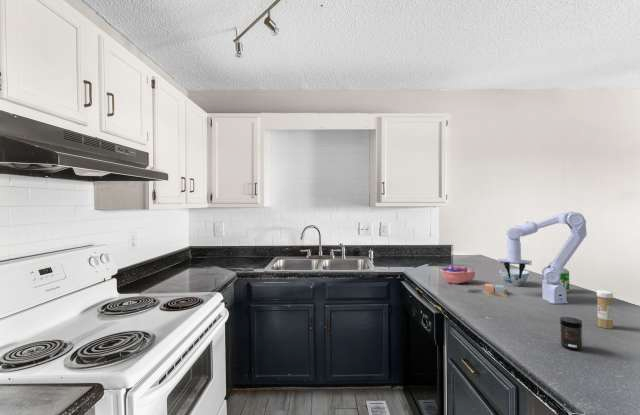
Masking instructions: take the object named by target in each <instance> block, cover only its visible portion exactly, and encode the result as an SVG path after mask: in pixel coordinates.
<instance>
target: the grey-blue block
mask: <svg viewBox="0 0 640 415" xmlns="http://www.w3.org/2000/svg"><path fill="white" fill-rule="evenodd" d="M494 288H495V291H494V292H495V293H505V292H504V289H505V285H504V284H494Z"/></svg>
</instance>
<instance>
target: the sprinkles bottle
mask: <svg viewBox="0 0 640 415" xmlns="http://www.w3.org/2000/svg"><path fill="white" fill-rule="evenodd" d="M613 293H614V292H612V291H610V290H609V291H608V290H604V289H603V290H602V289H601V290H600V289H598V290H596V296H597V297H596V298H597V302H596V303H597V309H596V311H597V326H598V328H599V327H600V328H602V329H607V330H609V329H614V323H613V322H614V320H613V319H614V314H613V313H614V306H613V298H614V296H613V295H614V294H613Z"/></svg>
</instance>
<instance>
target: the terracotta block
mask: <svg viewBox="0 0 640 415" xmlns="http://www.w3.org/2000/svg"><path fill="white" fill-rule="evenodd" d="M494 288H495V284H492V283H485V284H484V291H485V292H495V291H494Z"/></svg>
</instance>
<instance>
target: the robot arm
mask: <svg viewBox="0 0 640 415" xmlns="http://www.w3.org/2000/svg"><path fill="white" fill-rule="evenodd" d="M555 224H563V225H567V226H568V228H569V229H570V231H571V232H570V233H571V234H570V236H568V239H567V240H566V242H565V243H564V244H563V246H562V248H560V250H559V251H558V253H557V254H556V255H555V257H554V259H553V260H552V261H551V262H550V263H549V264H548V265H547V266H545V267H544V268H543V269H542V271H541V275H542V276H543V277H544V278H543V279H542V280H541V289H542V290H541V292H542V293H541V295H542V297H541V298H542V299H543V300H545V301H547V302H548V303H550V304H552V305H553V304H557V305H558V304H560V305H561V304H569V302H568V301H567V293H566V288H565V287H564V286H562V285H561V283H560V281H559V280H560V275H561V273H562V271H563V268H564V269H565V266H566V265H567V263H568V262H569V261H570V259H571V258H572V256H573V255H574V253H575V252H576V251H577V249H578V248H579V246H580V245H581V244H582V242H583V241H584V239H585V238H586V237H587V220H586V219H585V217H584V215H583V214H582V213H580V212H576V211H568V212H565V213H561V214H555V215H554V216H551V217H548V218H545V219H542V220H540V221H538V222H534V221H525V223H523V224H520V225H517V224H516V225H515V226H514V227H510V228H509V229H507V230H506V235H507V258H497V263H498V264H503V265H504V269H506V270H507V272H508V276H509V278H510V269H511V266H510V265H512V264H514V265H518V269H519V279H521V275H522V272H523V270H525V268H526V265H528V266H532V260H529V259H528V260H527V259H526V260H525V259H522V256H521V253H522V251H521V249H522V248H521V247H522V246H521V237H526V236H529V235H532V234H536V233H538V230H539V229H542V228H546V227H549V226H552V225H555Z"/></svg>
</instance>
